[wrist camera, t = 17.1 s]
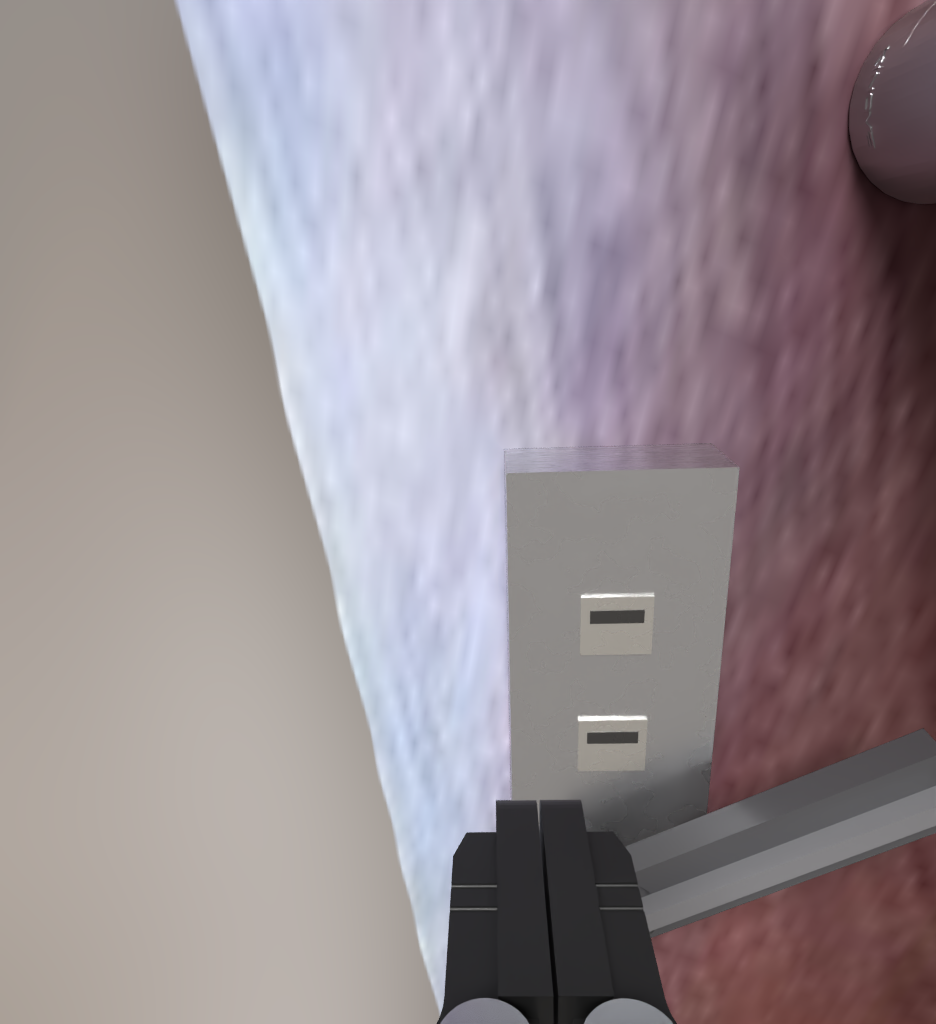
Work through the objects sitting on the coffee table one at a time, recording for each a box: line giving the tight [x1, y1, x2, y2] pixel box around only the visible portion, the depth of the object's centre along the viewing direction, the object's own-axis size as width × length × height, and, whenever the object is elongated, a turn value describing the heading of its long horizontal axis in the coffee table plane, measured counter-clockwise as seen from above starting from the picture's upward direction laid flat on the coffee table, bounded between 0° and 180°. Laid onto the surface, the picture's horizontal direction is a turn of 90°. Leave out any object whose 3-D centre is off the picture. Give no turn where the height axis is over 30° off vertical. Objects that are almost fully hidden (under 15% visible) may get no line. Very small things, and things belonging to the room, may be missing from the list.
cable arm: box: [625, 729, 936, 938], centre depth 41 cm, size 5×22×3 cm, turn 119°
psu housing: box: [504, 443, 739, 847], centre depth 43 cm, size 12×28×7 cm, turn 2°
